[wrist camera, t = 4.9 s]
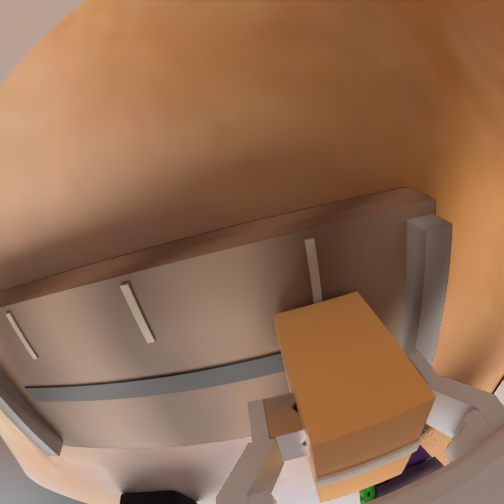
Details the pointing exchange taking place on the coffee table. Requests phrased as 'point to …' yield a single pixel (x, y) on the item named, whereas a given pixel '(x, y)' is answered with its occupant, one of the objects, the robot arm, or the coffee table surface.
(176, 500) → the battery
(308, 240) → the fader board
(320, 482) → the fader knob
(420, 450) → the potion bottle
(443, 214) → the coffee table surface
